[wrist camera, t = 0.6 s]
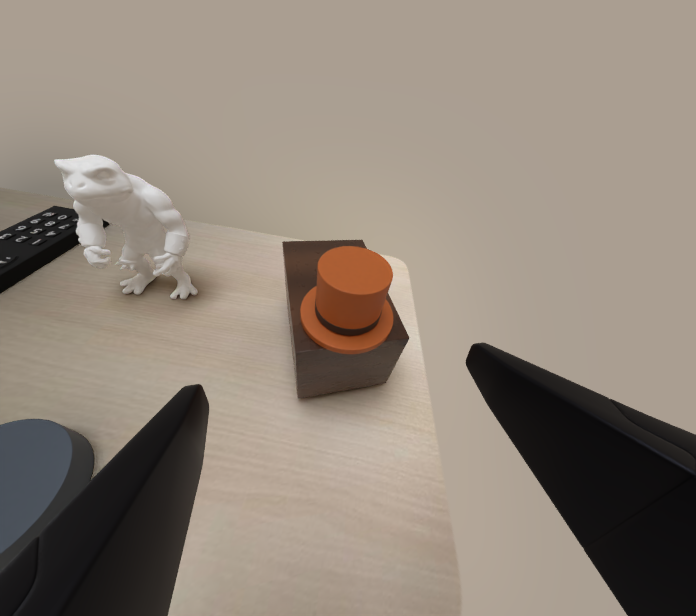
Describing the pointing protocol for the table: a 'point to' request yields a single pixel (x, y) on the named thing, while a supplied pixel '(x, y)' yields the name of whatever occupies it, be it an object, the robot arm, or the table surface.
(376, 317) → the orange top hat
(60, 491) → the stand
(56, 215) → the remote control
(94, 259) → the figurine
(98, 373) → the table surface
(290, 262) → the brown lidded box
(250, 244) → the table surface
